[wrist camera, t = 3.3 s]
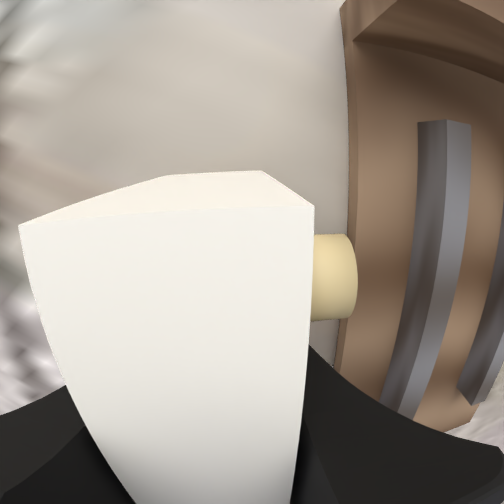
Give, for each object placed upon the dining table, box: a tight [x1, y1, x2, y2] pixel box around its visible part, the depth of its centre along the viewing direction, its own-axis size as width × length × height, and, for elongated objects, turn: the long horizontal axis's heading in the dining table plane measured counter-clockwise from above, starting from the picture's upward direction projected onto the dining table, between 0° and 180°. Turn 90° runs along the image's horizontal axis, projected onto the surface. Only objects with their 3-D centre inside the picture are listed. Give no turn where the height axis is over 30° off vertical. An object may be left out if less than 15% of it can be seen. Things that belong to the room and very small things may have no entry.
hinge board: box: [334, 0, 504, 432], centre depth 10 cm, size 24×12×6 cm, turn 2°
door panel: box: [18, 171, 358, 504], centre depth 7 cm, size 10×4×7 cm, turn 2°
